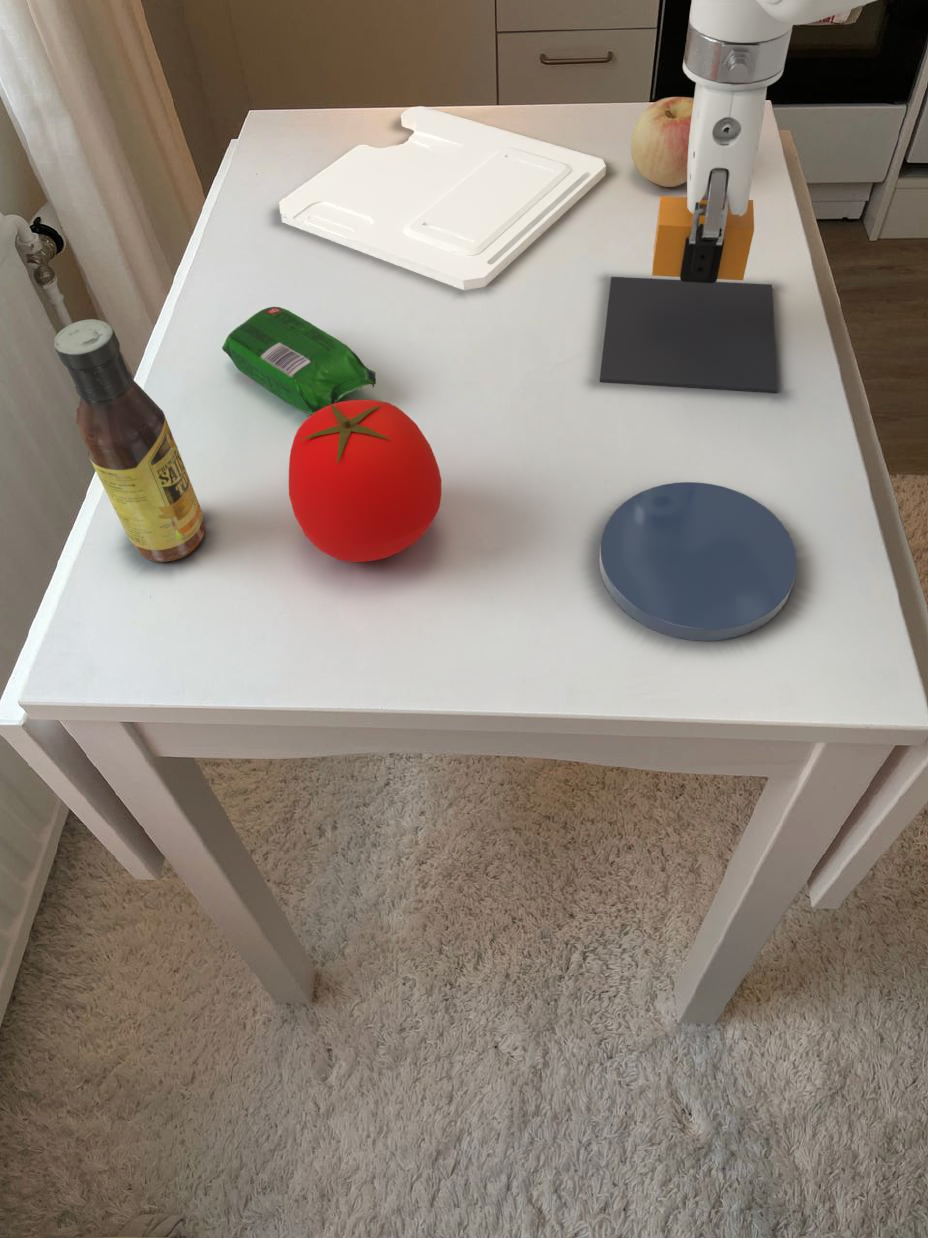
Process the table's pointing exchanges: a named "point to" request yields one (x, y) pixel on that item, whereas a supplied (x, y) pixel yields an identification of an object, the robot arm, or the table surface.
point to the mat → (690, 335)
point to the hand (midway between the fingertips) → (698, 260)
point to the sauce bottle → (130, 445)
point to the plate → (697, 561)
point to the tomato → (363, 480)
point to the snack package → (296, 360)
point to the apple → (663, 141)
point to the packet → (677, 228)
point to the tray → (444, 197)
